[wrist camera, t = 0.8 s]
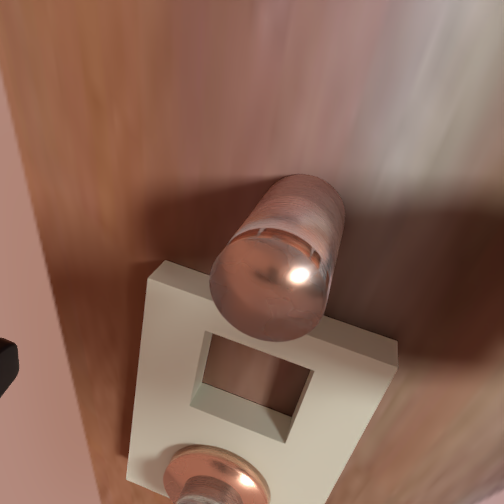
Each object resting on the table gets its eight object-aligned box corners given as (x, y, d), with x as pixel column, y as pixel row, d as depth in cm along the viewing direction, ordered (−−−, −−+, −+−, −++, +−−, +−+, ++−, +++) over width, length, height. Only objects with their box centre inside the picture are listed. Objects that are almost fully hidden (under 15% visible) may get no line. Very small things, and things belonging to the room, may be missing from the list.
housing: (397, 341, 22) (398, 367, 20) (302, 524, 31) (297, 553, 29) (165, 259, 23) (147, 277, 22) (139, 455, 32) (126, 479, 31)
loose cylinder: (357, 189, 19) (343, 262, 13) (330, 264, 21) (306, 357, 15) (272, 163, 19) (220, 221, 13) (253, 238, 21) (201, 318, 15)
